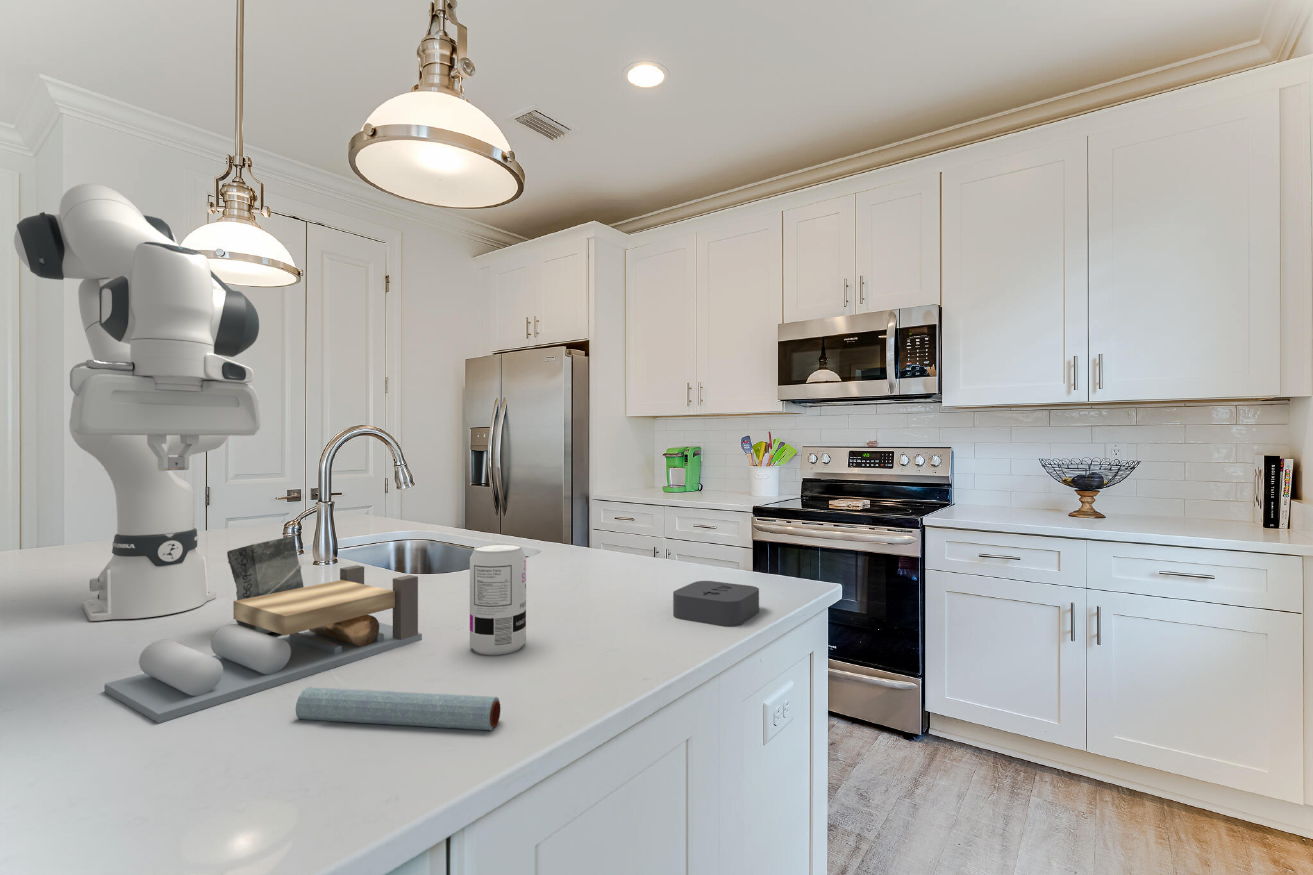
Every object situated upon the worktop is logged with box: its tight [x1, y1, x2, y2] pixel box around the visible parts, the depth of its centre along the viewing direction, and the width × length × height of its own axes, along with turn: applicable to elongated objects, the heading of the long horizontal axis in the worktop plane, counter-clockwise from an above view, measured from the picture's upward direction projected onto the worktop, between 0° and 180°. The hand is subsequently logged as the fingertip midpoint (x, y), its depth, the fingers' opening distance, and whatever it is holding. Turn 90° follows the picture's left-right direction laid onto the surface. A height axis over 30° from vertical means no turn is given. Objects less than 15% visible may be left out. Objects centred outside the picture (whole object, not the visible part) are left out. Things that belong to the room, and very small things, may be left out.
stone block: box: [226, 535, 305, 634], centre depth 102 cm, size 9×14×5 cm
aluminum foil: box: [295, 686, 501, 731], centre depth 69 cm, size 23×7×3 cm, turn 83°
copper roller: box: [308, 614, 380, 646], centre depth 96 cm, size 12×4×4 cm, turn 58°
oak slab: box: [232, 579, 395, 636], centre depth 92 cm, size 14×16×2 cm
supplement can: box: [469, 542, 527, 656], centre depth 95 cm, size 8×8×15 cm
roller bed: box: [104, 564, 423, 724], centre depth 88 cm, size 16×34×10 cm, turn 147°
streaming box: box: [672, 580, 760, 628], centre depth 112 cm, size 13×13×5 cm
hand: (173, 470), depth 84 cm, fingers closed
